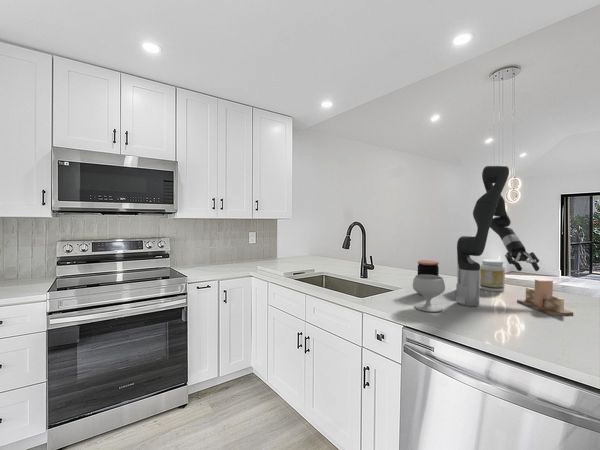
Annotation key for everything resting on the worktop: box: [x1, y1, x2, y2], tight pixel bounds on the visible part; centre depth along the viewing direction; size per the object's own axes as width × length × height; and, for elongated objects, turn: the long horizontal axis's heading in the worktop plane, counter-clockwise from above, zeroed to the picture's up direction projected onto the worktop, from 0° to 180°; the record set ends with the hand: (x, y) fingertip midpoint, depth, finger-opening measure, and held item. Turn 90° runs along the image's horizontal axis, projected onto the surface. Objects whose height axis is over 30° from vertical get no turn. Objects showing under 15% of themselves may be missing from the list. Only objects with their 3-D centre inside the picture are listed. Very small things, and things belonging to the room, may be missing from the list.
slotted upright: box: [534, 279, 554, 307], centre depth 141 cm, size 3×6×12 cm, turn 90°
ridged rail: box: [516, 287, 574, 316], centre depth 141 cm, size 20×10×7 cm, turn 1°
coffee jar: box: [417, 259, 440, 296], centre depth 166 cm, size 11×11×18 cm
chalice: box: [412, 274, 446, 313], centre depth 141 cm, size 14×14×15 cm
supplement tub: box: [480, 258, 506, 293], centre depth 176 cm, size 12×12×17 cm
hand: (529, 270), depth 150 cm, fingers open, 8 cm apart
